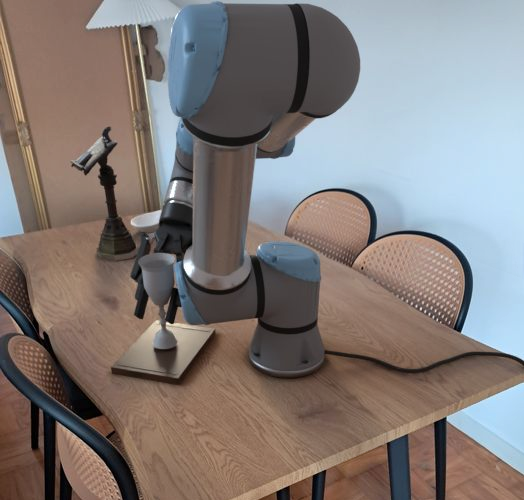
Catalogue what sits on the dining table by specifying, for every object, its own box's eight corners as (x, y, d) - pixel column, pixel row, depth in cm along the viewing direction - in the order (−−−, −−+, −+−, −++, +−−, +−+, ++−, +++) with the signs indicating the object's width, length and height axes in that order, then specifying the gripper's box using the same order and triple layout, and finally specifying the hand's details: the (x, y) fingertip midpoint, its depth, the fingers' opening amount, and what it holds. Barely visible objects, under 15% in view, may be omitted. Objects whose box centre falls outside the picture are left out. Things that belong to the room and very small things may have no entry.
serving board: (215, 334, 120) (215, 328, 119) (178, 385, 103) (178, 378, 102) (156, 325, 123) (156, 319, 122) (111, 373, 107) (110, 366, 106)
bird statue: (87, 268, 151) (63, 133, 133) (76, 253, 161) (52, 125, 142) (146, 257, 158) (131, 127, 140) (131, 243, 167) (116, 120, 149)
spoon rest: (136, 239, 171) (133, 216, 167) (128, 227, 180) (125, 205, 177) (208, 229, 179) (207, 207, 175) (197, 218, 188) (196, 197, 185)
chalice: (175, 353, 109) (167, 269, 100) (142, 349, 110) (132, 266, 101) (186, 335, 115) (180, 254, 106) (155, 331, 116) (147, 251, 107)
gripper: (230, 223, 112) (205, 332, 107) (146, 214, 116) (118, 318, 112) (221, 205, 105) (193, 320, 100) (131, 196, 109) (100, 306, 104)
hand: (153, 319), depth 106 cm, fingers closed on chalice, 6 cm apart
